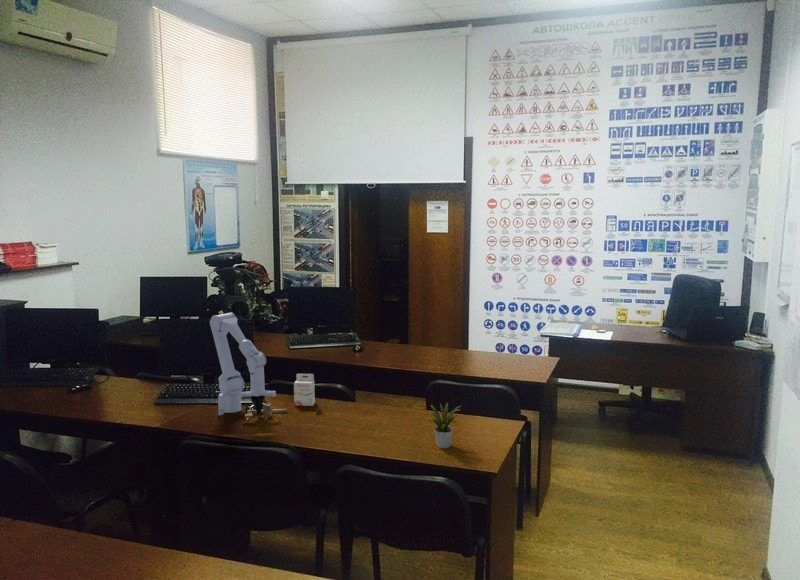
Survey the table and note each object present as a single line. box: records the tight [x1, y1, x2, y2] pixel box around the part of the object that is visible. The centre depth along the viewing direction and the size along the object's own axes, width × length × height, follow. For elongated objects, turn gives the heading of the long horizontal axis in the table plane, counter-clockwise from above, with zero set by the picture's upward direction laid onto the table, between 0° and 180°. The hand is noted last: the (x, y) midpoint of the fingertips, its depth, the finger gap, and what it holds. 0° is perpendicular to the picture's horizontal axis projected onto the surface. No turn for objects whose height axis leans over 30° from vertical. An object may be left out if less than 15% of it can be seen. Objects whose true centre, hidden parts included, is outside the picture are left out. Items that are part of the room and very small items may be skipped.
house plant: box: [426, 402, 461, 449], centre depth 229 cm, size 14×14×16 cm
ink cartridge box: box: [293, 373, 316, 407], centre depth 282 cm, size 9×5×15 cm, turn 84°
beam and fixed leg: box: [244, 408, 288, 421], centre depth 267 cm, size 17×10×2 cm, turn 92°
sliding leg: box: [262, 403, 273, 420], centre depth 266 cm, size 3×10×5 cm, turn 2°
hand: (258, 412), depth 266 cm, fingers closed
